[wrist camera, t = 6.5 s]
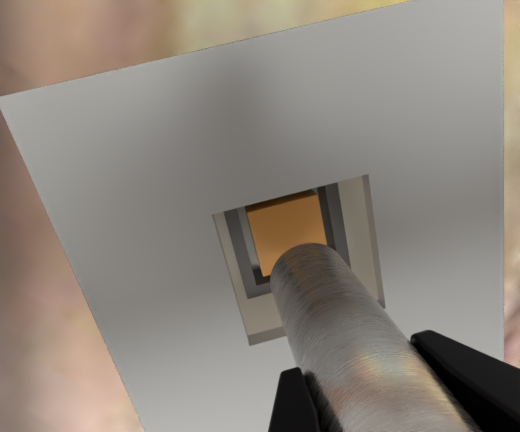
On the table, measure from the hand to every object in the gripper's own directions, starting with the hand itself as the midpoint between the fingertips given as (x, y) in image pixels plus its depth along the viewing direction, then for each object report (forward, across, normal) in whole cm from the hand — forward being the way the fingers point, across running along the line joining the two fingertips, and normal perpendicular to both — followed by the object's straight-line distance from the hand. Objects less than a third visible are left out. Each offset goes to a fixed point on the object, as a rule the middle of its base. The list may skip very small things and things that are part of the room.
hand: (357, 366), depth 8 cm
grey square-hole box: (+10, 0, 0) cm, 10 cm away
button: (+9, 0, 0) cm, 9 cm away
